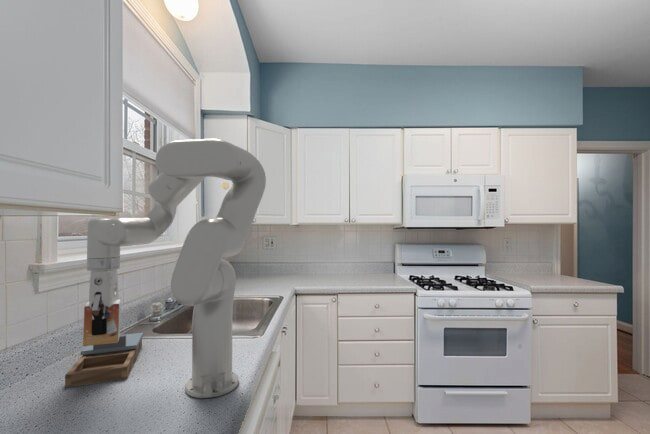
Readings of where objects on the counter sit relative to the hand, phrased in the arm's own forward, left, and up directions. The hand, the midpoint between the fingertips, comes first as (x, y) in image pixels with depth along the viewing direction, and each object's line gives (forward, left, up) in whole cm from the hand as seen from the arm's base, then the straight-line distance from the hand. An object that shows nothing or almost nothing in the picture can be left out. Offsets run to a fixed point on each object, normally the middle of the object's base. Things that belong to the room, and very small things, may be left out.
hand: (102, 329), depth 91 cm
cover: (+13, 0, -8) cm, 15 cm away
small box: (0, 0, -3) cm, 3 cm away
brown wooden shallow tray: (+6, 0, -12) cm, 13 cm away
